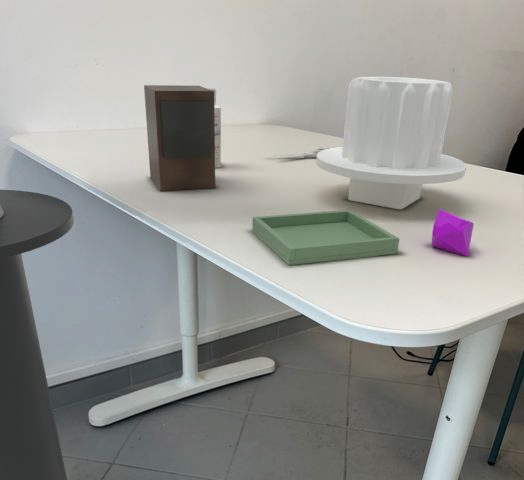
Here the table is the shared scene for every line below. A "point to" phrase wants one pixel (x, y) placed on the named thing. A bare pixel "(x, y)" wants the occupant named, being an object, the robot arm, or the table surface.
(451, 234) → the crystal
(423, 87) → the flanged gear
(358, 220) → the tray
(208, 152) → the cabinet
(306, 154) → the scissors
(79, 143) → the table surface
